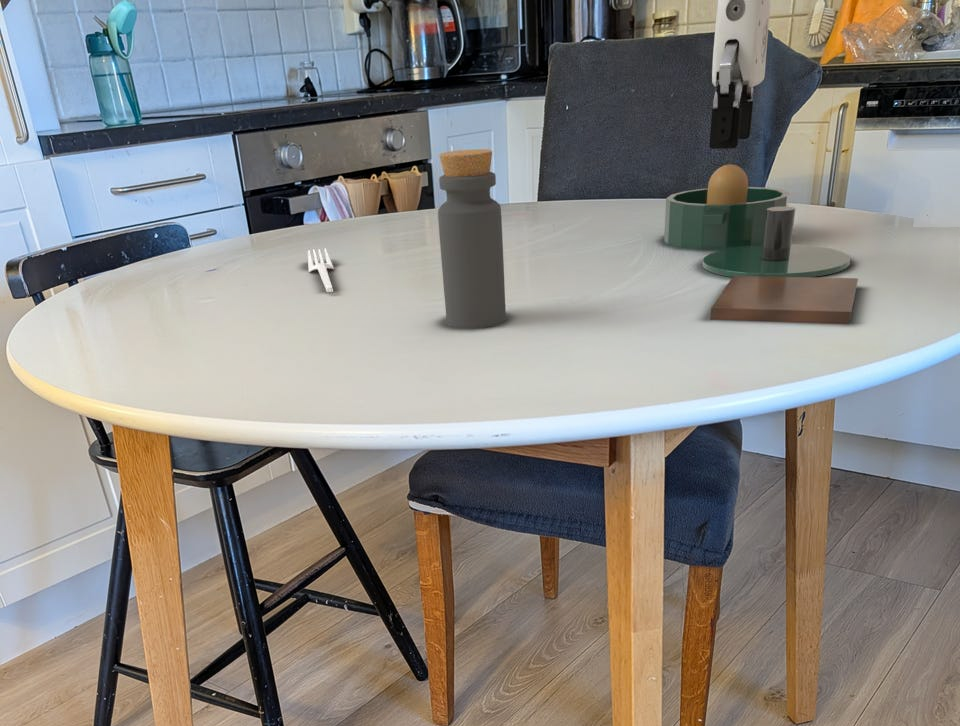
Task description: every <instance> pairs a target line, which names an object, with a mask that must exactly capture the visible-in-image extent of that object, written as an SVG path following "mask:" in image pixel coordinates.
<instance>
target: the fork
mask: <svg viewBox="0 0 960 726" xmlns="http://www.w3.org/2000/svg"><path fill="white" fill-rule="evenodd" d="M317 251H318V255H319V260H318V256H317V253H316V250H315V249H313V250H312V253H313V258H312V254H311V250H310V249H308V250H307V265H308V272H309V273H311V272H312V271H316V270H317V272H318V273H319V276H320V278H321V282H322V283H323V286H324V288H325V291H326V293H333V292H334V288H333V286H332V282H331V279H330V275H329V272H328V269H331V270H334V269H335V267H334V265H333V263H332V260H331V258H330V255H329V253H328V251H327V248H324V249H323V251H324V255H325V261H326V262H325V261H324V259H323V255H322V251H321V248H318V250H317ZM313 259H314V262H313ZM319 261H320V262H319ZM314 263H315V264H314Z"/></svg>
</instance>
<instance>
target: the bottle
mask: <svg viewBox="0 0 960 726" xmlns="http://www.w3.org/2000/svg"><path fill="white" fill-rule="evenodd" d="M492 157H493V151H492V150H491V149H486V148H484V149H483V148H482V149H479V148H477V149H462V150H461V149H460V150H459V149H458V150H452V151H445V152H442V153H440V154H439V160H440V163H441V167H442V171H443V175H441V176H440V177H439V178H438V182H439V189H440V190H442V191H445V195H446V201H445V202H444V203H442V204H441V205H440V206H439V208H438V209H437V218H438V234H439V246H440V247H439V248H440V259H441V271H442V282H443V283H442V284H443V296H444V305H445V306H444V307H445V317H446V318H445V319H446V325H447V326H449V327H451V328H454V329H461V330H462V329H463V330H477V329H486V328H491V327H495V326H498V325H500V324H503V323H504V322H506V320H507V317H506V316H507V314H506V313H507V312H506V311H507V310H506V290H505V289H506V286H505V262H504V243H503V242H504V241H503V222H502V221H503V219H502V207H501V204H500V203H499V202H498V201H497V200H496V199H493V198H492V197H491V188H493V187H494V186H496V184H497V179H496V173H495V172H493V171H491V165H492V159H493V158H492Z"/></svg>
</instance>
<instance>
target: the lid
mask: <svg viewBox="0 0 960 726" xmlns="http://www.w3.org/2000/svg"><path fill="white" fill-rule="evenodd" d="M795 217H796V208H795V207H793V206H788V207H771V208H768V209H767V210H766V218H765V227H764V237H763V245H755V246H744V247H737V248H730V249H725V250H716V251H714V252H711V253H709V254H707V255H706V256H704V257H703V259H702V267H703V269H704V270H706V271H707V272H710V273H712V274H714V275H718V276H724V277H729V278H732V277H733V276H756V277H813V278H819V277H824V276H827V275H828V276H829V275H832V274H833V275H834V274H836V273H839V272H842V271H844V270H846V269H847V268H849V266H850V263H851V257H850V255H848V253H846V252H843V251H842V250H838V249H833V248H829V247H825V246H817V245H816V246H815V245H803V244H792V240H793V231H794V224H795Z"/></svg>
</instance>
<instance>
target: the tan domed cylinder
mask: <svg viewBox="0 0 960 726" xmlns="http://www.w3.org/2000/svg"><path fill="white" fill-rule="evenodd" d="M748 187H749V179H748V176H747V174H746V172H745V171H744V169H743V168H742V167H740V166H738V165H736V164H725V165H722V166H720V167H719V168H717V169H716V170H715V171H714V172H713V173H712V175H711V176H710V178H709V180H708V184H707V188H708V193H707V204H735V203H746V201H747V190H748Z"/></svg>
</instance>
